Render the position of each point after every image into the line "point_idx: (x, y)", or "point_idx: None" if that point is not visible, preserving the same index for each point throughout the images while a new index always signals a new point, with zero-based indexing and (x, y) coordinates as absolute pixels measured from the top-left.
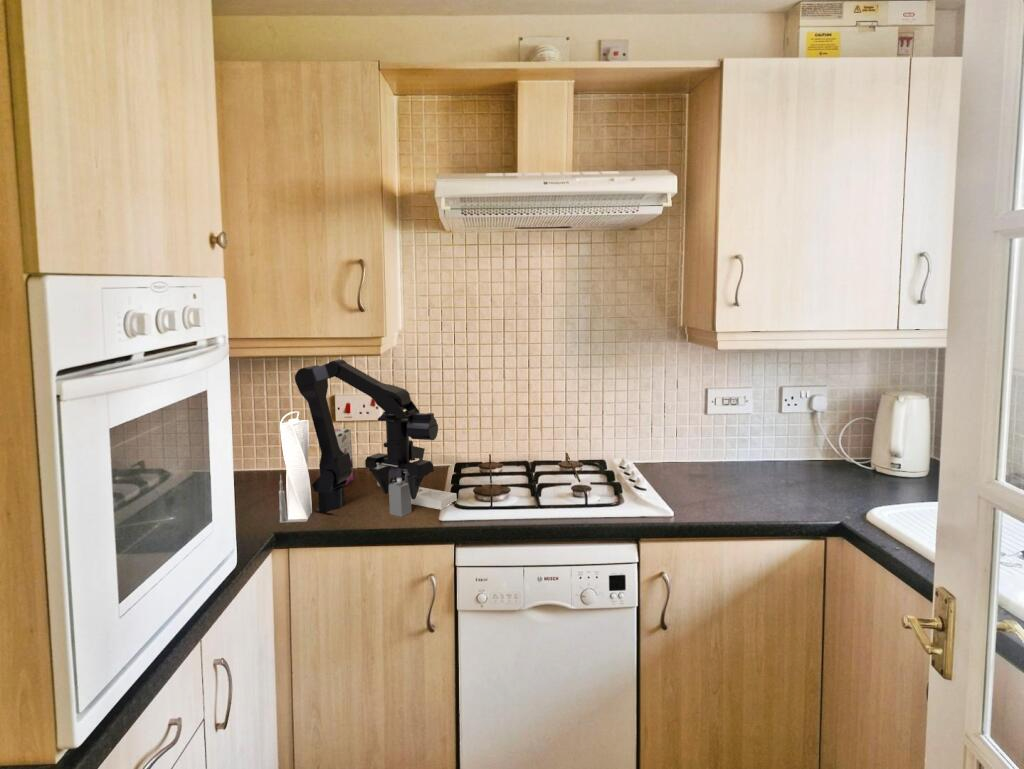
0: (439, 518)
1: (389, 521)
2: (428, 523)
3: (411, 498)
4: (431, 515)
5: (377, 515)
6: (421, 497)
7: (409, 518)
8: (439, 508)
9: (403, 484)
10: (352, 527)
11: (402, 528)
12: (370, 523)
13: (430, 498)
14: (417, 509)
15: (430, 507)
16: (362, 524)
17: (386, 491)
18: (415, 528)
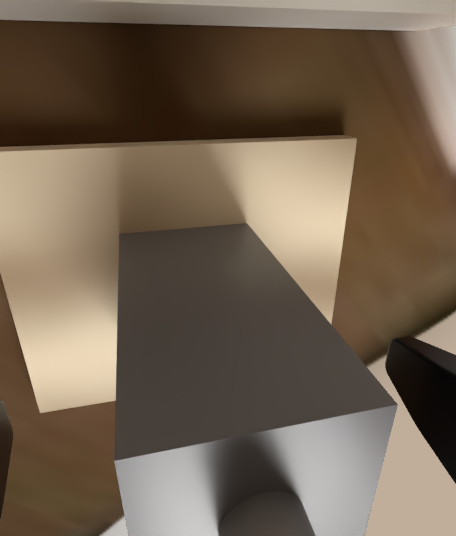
0: (446, 148)
1: None
2: (417, 260)
3: (59, 7)
4: (367, 123)
5: (6, 347)
6: (238, 6)
7: None
8: (426, 25)
9: (323, 492)
10: (78, 523)
11: None
12: (109, 446)
13: (381, 13)
14: (169, 47)
15: (323, 23)
16: (83, 478)
17: (4, 454)
18: (385, 352)
